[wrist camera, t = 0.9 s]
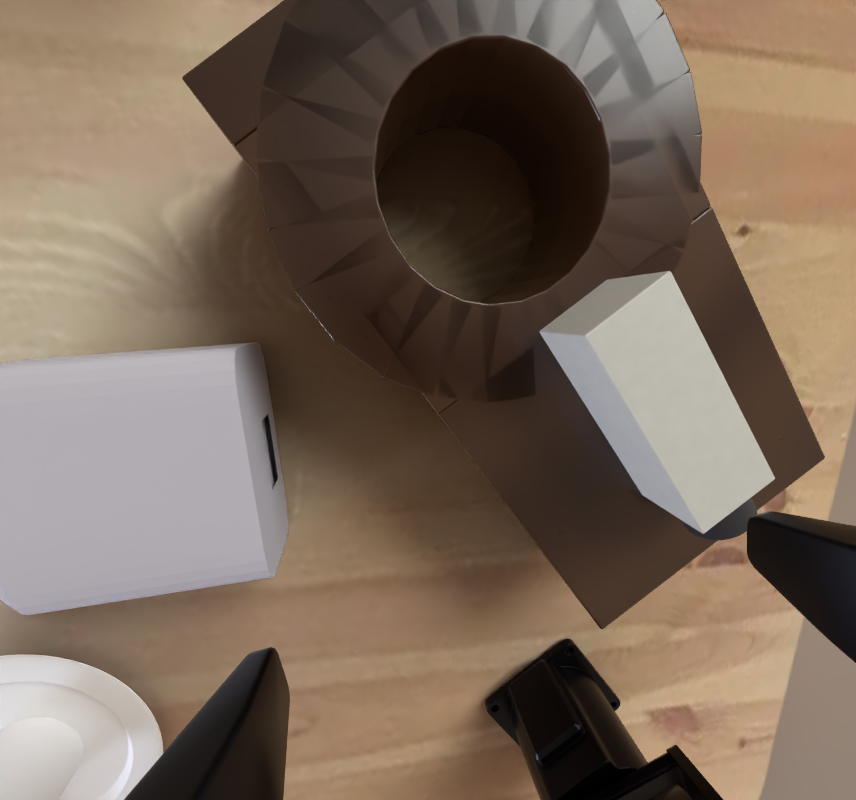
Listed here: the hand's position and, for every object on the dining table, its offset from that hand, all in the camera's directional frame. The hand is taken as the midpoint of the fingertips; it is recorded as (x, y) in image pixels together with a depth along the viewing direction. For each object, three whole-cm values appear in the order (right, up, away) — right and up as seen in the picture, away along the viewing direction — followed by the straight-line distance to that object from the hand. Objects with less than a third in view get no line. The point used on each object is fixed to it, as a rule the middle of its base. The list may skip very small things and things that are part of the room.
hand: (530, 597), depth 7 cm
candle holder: (-21, -14, +13) cm, 29 cm away
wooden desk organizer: (+2, +8, +13) cm, 15 cm away
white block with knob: (+6, +3, +8) cm, 10 cm away
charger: (-16, +1, +11) cm, 20 cm away
